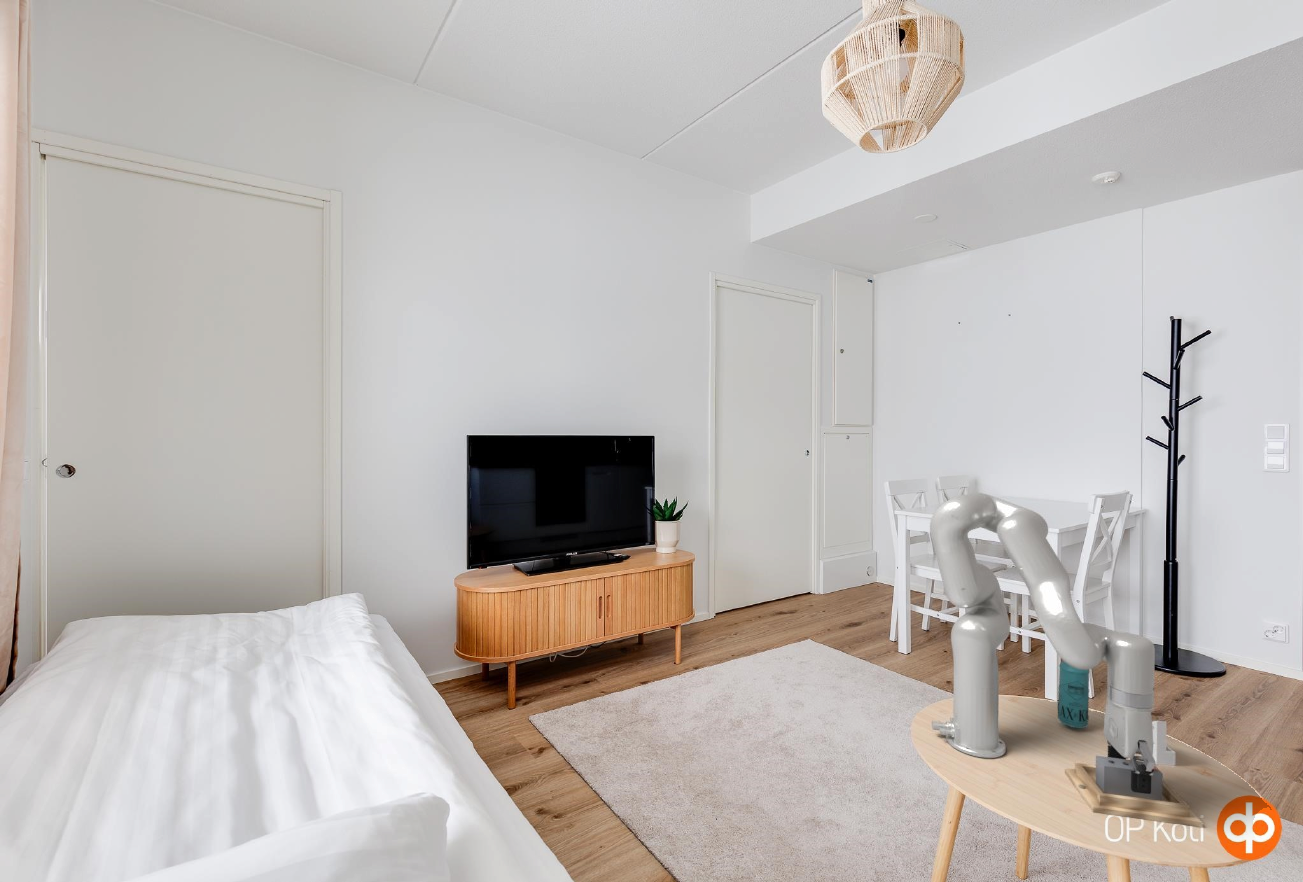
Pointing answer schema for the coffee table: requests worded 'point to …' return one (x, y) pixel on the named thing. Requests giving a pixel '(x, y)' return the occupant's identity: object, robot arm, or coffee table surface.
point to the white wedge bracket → (1161, 745)
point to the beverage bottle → (1073, 696)
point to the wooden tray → (1130, 800)
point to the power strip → (1124, 778)
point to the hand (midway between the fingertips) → (1128, 778)
